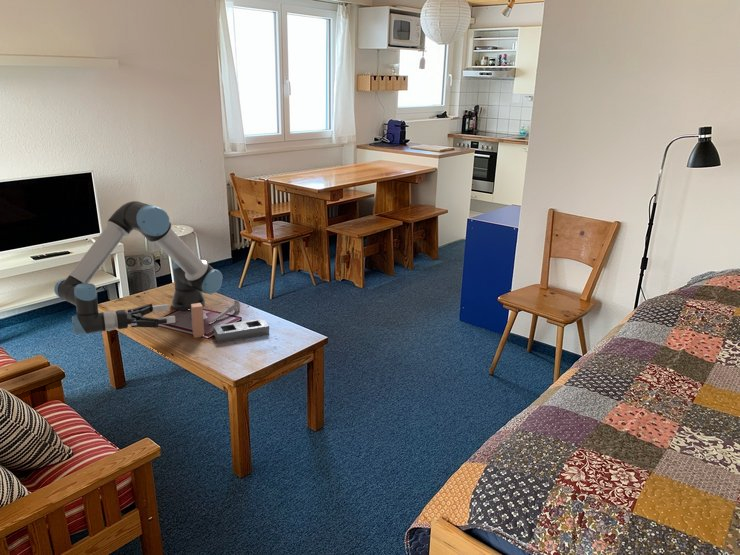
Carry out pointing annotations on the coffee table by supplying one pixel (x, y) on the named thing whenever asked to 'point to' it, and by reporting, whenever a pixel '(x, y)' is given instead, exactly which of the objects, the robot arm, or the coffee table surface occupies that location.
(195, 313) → the peg
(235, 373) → the coffee table surface
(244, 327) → the grey peg hole block
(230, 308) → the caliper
